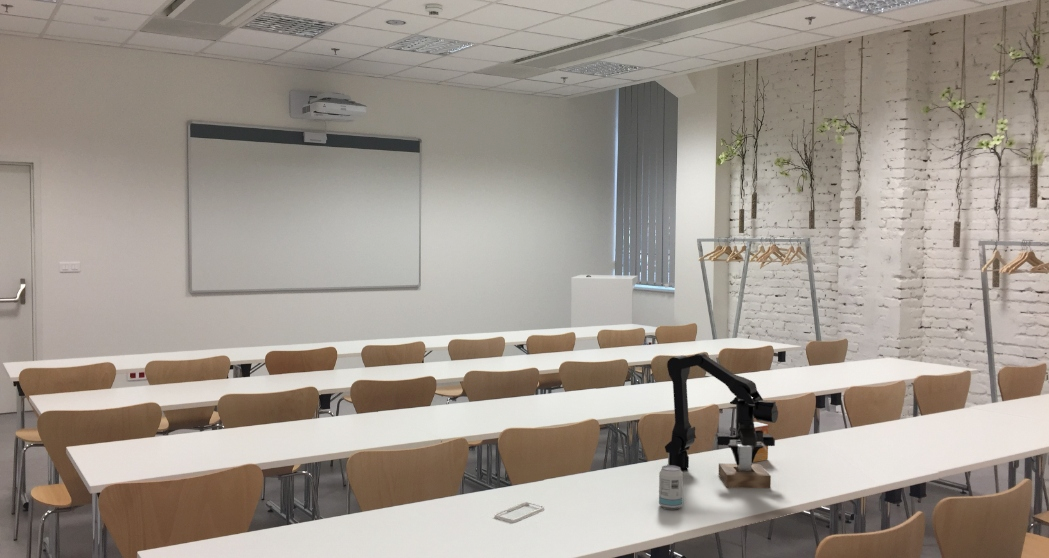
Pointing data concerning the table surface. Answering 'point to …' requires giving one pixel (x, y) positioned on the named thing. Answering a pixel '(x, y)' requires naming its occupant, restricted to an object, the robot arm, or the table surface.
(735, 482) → the walnut socket block
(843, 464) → the table surface
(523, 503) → the phone case
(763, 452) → the small box
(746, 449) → the grey metal peg
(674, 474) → the beverage can
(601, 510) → the table surface
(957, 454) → the table surface
